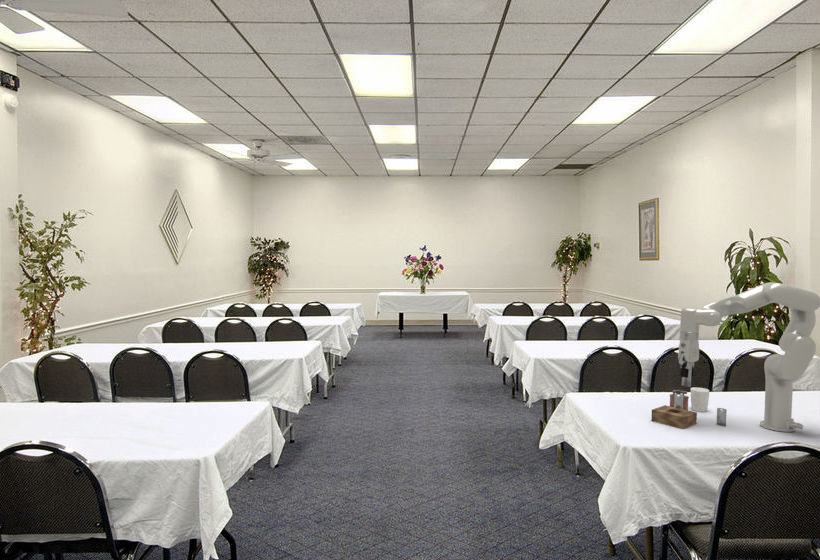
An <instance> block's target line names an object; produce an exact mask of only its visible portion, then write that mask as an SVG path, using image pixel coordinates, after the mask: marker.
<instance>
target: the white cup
mask: <svg viewBox="0 0 820 560" xmlns="http://www.w3.org/2000/svg"><path fill="white" fill-rule="evenodd" d="M709 397H710V390H709V389H708V388H705V387H704V388H703V387H690V408H691V411H693V412H697V413H698V412H700V413H706V412H708V408H709V407H708V406H709V399H710V398H709Z"/></svg>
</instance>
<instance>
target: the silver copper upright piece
mask: <svg viewBox="0 0 820 560" xmlns="http://www.w3.org/2000/svg"><path fill="white" fill-rule="evenodd" d="M675 394H681V395H683V410H688V411H689V398H690V396H689V395H688V391H686V390H680V389H677V390H675V389H674V390H672V393H670V394H669V406H670V407H674V395H675Z"/></svg>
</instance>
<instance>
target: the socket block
mask: <svg viewBox="0 0 820 560" xmlns="http://www.w3.org/2000/svg"><path fill="white" fill-rule="evenodd" d="M697 416H698V412H697V411H693V410H689V409H688V410H683V409H679V408H675V407H670V405H666V404H665V405H662V406H658V407H656V408H653V409H651V418H650V419H651V421H652V422H654V421H655V423H658V422H659V424H662V425H666V426H670V427H675V428H678V429H682V430H685V429H688V428H690V427H692V426H696V425H697V424H698V421H697V420H698V417H697Z"/></svg>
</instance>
